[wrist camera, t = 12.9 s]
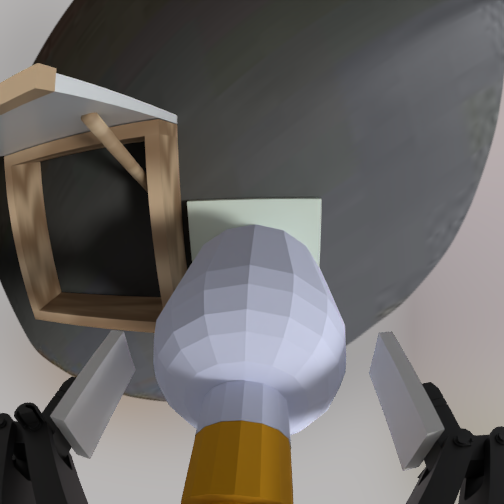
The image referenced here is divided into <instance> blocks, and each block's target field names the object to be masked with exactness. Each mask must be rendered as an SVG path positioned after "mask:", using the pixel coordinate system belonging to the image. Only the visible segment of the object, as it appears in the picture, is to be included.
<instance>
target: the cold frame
mask: <svg viewBox="0 0 504 504" xmlns="http://www.w3.org/2000/svg"><path fill="white" fill-rule="evenodd" d="M81 121H82V122H83V123H84V124H85V125H86V126H87V127H88V128H89V130H90V132H86V133H82V134H78V135H74V136H70V137H66V138H62V139H58V140H55V141H51V142H48V143H44V144H41V145H38V146H34V147H31V148H28V149H25V150H22V151H19V152H16V153H13V154H10V155H7V156H5V157H4V163H5V177H6V188H7V197H8V205H9V213H10V219H11V225H12V231H13V236H14V242H15V246H16V251H17V256H18V260H19V264H20V268H21V272H22V276H23V280H24V284H25V287H26V291H27V294H28V297H29V301H30V304H31V307H32V310H33V313H34V316H35V319H39V320H45V321H52V322H58V323H65V324H73V325H80V326H88V327H97V328H106V329H116V330H127V331H138V332H152V333H155V326H156V320H157V319H158V317H159V315H160V314H161V312H162V310H163V309H164V307H165V305H166V304H167V302H168V300H169V299H170V297H171V295H172V294H173V292H174V291H175V289H176V287H177V286H178V284H179V283H180V281H181V279H182V278H183V276H184V275H185V273H186V271H187V263H186V254H185V243H184V233H183V221H182V209H181V195H180V179H179V161H178V138H177V124H173V123H170V122H167V121H164V120H160V119H155V120H149V121H142V122H136V123H130V124H125V125H119V126H114V127H108V126H107V125H106V123H105V122H104V121H103V120H102V118H101V117H100V116H99V114H98V113H96V112H94V113H90V114H86V115H82V116H81ZM142 141H145V154H146V171H147V174H146V173H145V171H144V170H143V169H142V168H141V167H140V165H139V164H138V163H137V162H136V160H135V159H134V158H133V157H132V156H131V154H130V153H129V152H128V151H127V149H126V148H125V147H124V146H123V144H129V143H135V142H142ZM105 147H106V148H107V149H108V151H109V152H110V153H111V154H112V155H113V156H114V157H115V158H116V159H117V160H118V161H119V163H120V164H121V165H122V166H123V167H124V168H125V169H126V170H127V171H128V172H129V173H130V174H131V176H132V177H133V178H134V179H135V180H136V181H137V182H138V183H139V184H140V185H141V186H142V187H143V188H144V189H145V190H146V191H147V193H148V198H149V209H150V219H151V228H152V237H153V245H154V253H155V260H156V267H157V274H158V281H159V287H160V294H161V297H139V296H116V295H97V294H80V293H65V292H61V288H60V284H59V280H58V276H57V272H56V268H55V263H54V259H53V254H52V249H51V244H50V238H49V233H48V227H47V221H46V214H45V207H44V199H43V190H42V179H41V167H40V162H41V161H45V160H49V159H53V158H57V157H61V156H65V155H70V154H74V153H79V152H84V151H89V150H94V149H99V148H105Z"/></svg>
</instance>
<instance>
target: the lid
mask: <svg viewBox="0 0 504 504" xmlns="http://www.w3.org/2000/svg"><path fill="white" fill-rule="evenodd" d="M94 112H96V113H98V114H99V116H100V117H101V118H102V120H103V121H104V122H105V123H106V125H107V126H108V127H114V126H119V125H125V124H130V123H136V122H142V121H149V120H155V119H160V120H164V121H167V122H170V123H173V124H177V115H175V114H172V113H170V112H167V111H165V110H162V109H160V108H157V107H155V106H152V105H150V104H147V103H145V102H142V101H139V100H137V99H134V98H131V97H128V96H126V95H123V94H120V93H117V92H114V91H111V90H109V89H106V88H103V87H100V86H97V85H94V84H90V83H87V82H84V81H81V80H78V79H74V78H71V77H68V76H64V75H61V74H57V73H56V68H53V67H50V66H46V65H43V64H39V63H37V64H35V65H33V66H31V67H29V68H27V69H25V70H23V71H21V72H19V73H17V74H15V75H14V76H12V77H10V78H8V79H6V80H5V81H3V82H1V83H0V156H6V155H10V154H13V153H16V152H19V151H22V150H25V149H28V148H31V147H34V146H38V145H41V144H44V143H48V142H51V141H55V140H58V139H62V138H66V137H70V136H74V135H78V134H82V133H86V132H90V130H89V128H88V127H87V126H86V125H85V124H84V123H83V122H82V121H81V116H82V115H86V114H90V113H94Z"/></svg>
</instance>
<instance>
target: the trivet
mask: <svg viewBox="0 0 504 504" xmlns="http://www.w3.org/2000/svg"><path fill="white" fill-rule="evenodd" d="M187 209H188V222H189V234H190V246H191V256H192V262H193V260H194V259H195V257H196V256H197V254H198V253H199V251H200V250H201V248H202V246H203V245H204V244H205V243H207V242H208V241H210V240H211V239H213V238H214V237H216V236H217V235H219V234H220V233H222V232H223V231H225V230H227V229H231V228H237V227H242V226H248V225H254V224H256V225H261V226H266V227H270V228H275V229H280V230H284V231H285V232H287V233H288V234H290V235H291V236H292V237H294V238H295V239H297V240H298V241H300V242H301V243H302V244H304V245H305V246H306V247H307V248H308V250H309V251H310V253H311V255H312V256H313V258H314V260H315V261H316V263H317V265H318V266H319V261H320V238H321V198H240V199H210V200H189V201H187Z"/></svg>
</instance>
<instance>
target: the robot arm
mask: <svg viewBox="0 0 504 504" xmlns="http://www.w3.org/2000/svg"><path fill="white" fill-rule="evenodd" d="M134 372H135V367H134V364H133V361H132V358H131V354H130V351H129V348H128V344H127V341H126V338H125V334H124V331H115V330H111V332H110V333H109V334H108V336H107V337H106V338H105V340H104V341H103V342H102V344H101V345H100V346H99V348H98V349H97V350H96V352H95V353H94V354H93V356H92V357H91V358H90V360H89V361H88V362H87V364H86V365H85V367H84V368H83V369H82V371H81V372H80V373H79V375H78V376H77V378H76V377H71V378H69V379H68V380H67V381H65V382H64V383H63V384H62V386H61V387H60V389H59V391H57V393H56V394H55V396H54V397H53V398H52V400H51V401H50V402H49V404H48V405H47V407H46V408H45V410H44V411H43V412H42V413H41V412H40V410H39V409H38V407H37V406H36V405H35V404H33V403H24V404H22V405H20V406H19V407H18V408H17V409H16V411H15V414H14V417H15V418H16V420H17V421H18V422H15V421H13V420H12V419H11V417H10V416H9V415H8V414H5V413H1V414H0V504H88V502H87V499H86V497H85V494H84V492H83V489H82V486H81V484H80V481H79V478H78V476H77V472H76V469H75V467H74V463H73V460H72V456H71V455H70V453H69V451H70V449H71V447H72V448H73V450H74V451H75V452H76V454H78V455H81V456H83V457H86V458H89V459H90V458H91V456H92V454H93V452H94V450H95V448H96V446H97V444H98V442H99V440H100V438H101V436H102V434H103V432H104V430H105V428H106V426H107V424H108V422H109V420H110V418H111V416H112V414H113V412H114V410H115V408H116V406H117V404H118V402H119V401H120V399H121V397H122V395H123V393H124V391H125V389H126V387H127V385H128V383H129V382H130V380H131V378H132V376H133V374H134ZM369 374H370V377H371V380H372V382H373V385H374V388H375V390H376V393H377V396H378V398H379V401H380V404H381V406H382V410H383V412H384V415H385V417H386V421H387V424H388V427H389V430H390V432H391V435H392V438H393V441H394V444H395V447H396V450H397V454H398V457H399V460H400V463H401V466H402V470H403V471H405V470H408V469H412V468H416V467H419V466H420V464H421V463H422V462H423V460H424V461H425V464H426V468H425V469H424V470H423V471H422V472H421V474H420V475H419V476H418V478H419V480H418V482H417V484H416V486H415V488H414V490H413V492H412V494H411V496H410V497H409V499H408V501H407V503H406V504H454V503H455V500H456V498H457V495H458V493H459V490H460V496H459V503H458V504H504V427H502V426H501V427H496V428H495V429H493V430H492V432H491V433H490V435H479V436H475V435H473V434H472V433H471V432H470V431H468V430H466V429H461V428H460V427H459V425H458V423H457V421H456V419H455V417H454V415H453V414H452V412H451V410H450V408H449V406H448V405H447V403H446V401H445V399H444V398H443V395H442V394H441V392H440V390H439V388H437V387H436V386H435V385H434V384H432V383H431V382H429V383H424V384H422V383H421V382H420V380H419V378H418V376H417V374H416V372H415V371H414V369H413V367H412V365H411V363H410V362H409V360H408V358H407V356H406V355H405V353H404V351H403V349H402V348H401V346H400V344H399V342H398V341H397V339H396V337H395V336H394V334H393V332H382V333H379V334H378V338H377V343H376V348H375V351H374V356H373V359H372V364H371V367H370V372H369ZM460 488H461V489H460Z"/></svg>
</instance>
